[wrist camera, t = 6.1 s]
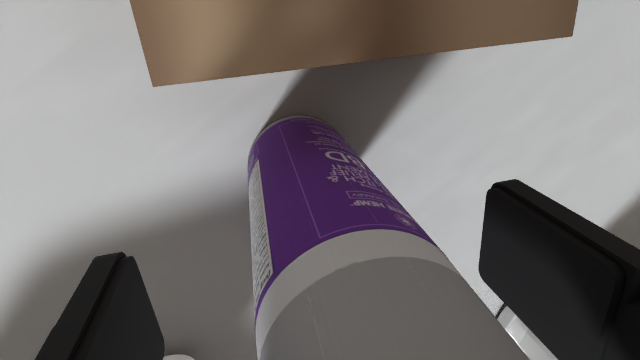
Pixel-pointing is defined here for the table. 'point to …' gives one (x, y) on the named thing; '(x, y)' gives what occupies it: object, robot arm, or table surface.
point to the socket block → (327, 32)
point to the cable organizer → (178, 357)
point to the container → (351, 262)
